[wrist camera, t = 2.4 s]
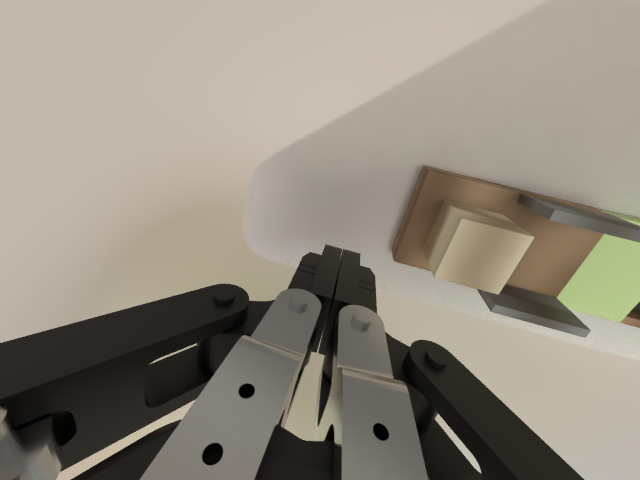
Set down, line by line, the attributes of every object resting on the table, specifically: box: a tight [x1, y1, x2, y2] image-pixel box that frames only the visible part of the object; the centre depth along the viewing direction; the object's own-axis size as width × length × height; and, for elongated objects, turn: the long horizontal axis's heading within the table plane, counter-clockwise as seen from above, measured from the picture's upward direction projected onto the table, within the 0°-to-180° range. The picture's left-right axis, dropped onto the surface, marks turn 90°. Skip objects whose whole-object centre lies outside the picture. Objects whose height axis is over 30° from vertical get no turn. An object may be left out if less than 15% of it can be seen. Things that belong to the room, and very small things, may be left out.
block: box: [423, 199, 534, 295], centre depth 18 cm, size 4×4×4 cm
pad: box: [557, 208, 640, 322], centre depth 20 cm, size 5×7×2 cm
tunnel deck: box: [392, 166, 640, 338], centre depth 18 cm, size 22×7×6 cm, turn 77°
